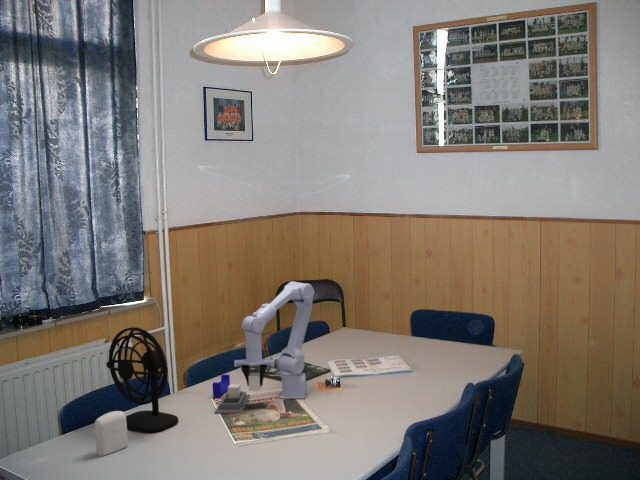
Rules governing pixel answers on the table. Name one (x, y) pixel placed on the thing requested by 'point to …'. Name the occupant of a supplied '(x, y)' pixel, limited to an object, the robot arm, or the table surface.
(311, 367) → the topographical map
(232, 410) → the grey stepped block
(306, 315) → the robot arm
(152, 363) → the desk fan
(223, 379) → the cable clip
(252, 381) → the light gray rectangular block
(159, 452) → the table surface
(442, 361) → the table surface
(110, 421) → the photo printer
